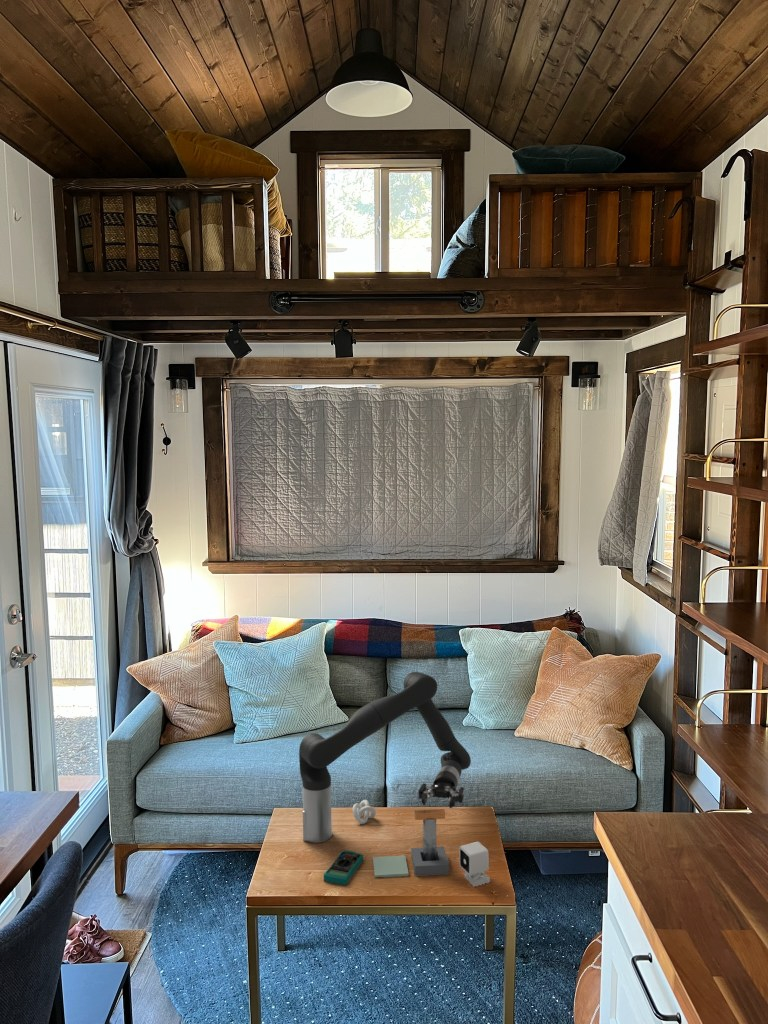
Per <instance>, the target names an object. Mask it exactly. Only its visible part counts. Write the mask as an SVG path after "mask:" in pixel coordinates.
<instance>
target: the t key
mask: <svg viewBox="0 0 768 1024" xmlns="http://www.w3.org/2000/svg"><path fill="white" fill-rule="evenodd" d="M413 812H414V816H413V817H414V821H422V848H423V861H437V855H436V847H437V820H444V819H446V812H445V808H441V809H440V808H439V809H422V810H421V809H420V810H417V809H416V810H414V811H413Z"/></svg>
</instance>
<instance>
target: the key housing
mask: <svg viewBox="0 0 768 1024" xmlns="http://www.w3.org/2000/svg"><path fill="white" fill-rule="evenodd" d="M410 855H411V856H410V860H411V862H412V863H411V864H412V868H413V872H414V876H415V877H420V876H421V877H425V876H439V875H441V876H443V875H450V862H449V858H448V856H447V855H448V854H447V853H446V849H445V846H436V855H437V861H423V847H411V848H410Z"/></svg>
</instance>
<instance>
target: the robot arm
mask: <svg viewBox="0 0 768 1024" xmlns="http://www.w3.org/2000/svg"><path fill="white" fill-rule="evenodd" d="M402 684H403V689H402V690H401V691H399V692H397V693H395V694H391V695H386V696H384V697H381V698H378V699H375V700H372V701H370V702H368V703H367V704H365V705H363V706H362V707H360V708H359V709H357V710H356V711H355V712H354V713H353V714H352V715H351V716H350V718H349V719H348V721H347V722H346V723H345V724H344V726H343V727H342V728H341V729H339V730H338V731H337V732H335V733H334V734H332V735H330V736H328V737H326V738H325V737H324V736H322V735H321V734H319V733H317V732H316V733H314V732H312V733H309V734H307V735H305V736H304V737H303V738H302V740H301V741H300V744H299V747H298V748H299V751H298V758H299V759H298V762H299V773H300V775H299V776H300V778H301V780H302V781H301V782H302V783H301V784H302V837H303V838H302V841H303V842H304V841H305V842H309V843H324V842H326V841H328V840H330V839H331V838H332V835H333V833H332V832H333V827H332V826H333V825H332V824H333V823H332V776H331V774H330V772H329V769H328V766H329V765H331V764H332V763H333V762H335V761H336V760H337V759H338V758H340V757H341V756H343V755H344V754H345V753H346V752H347V751H349V750H350V749H351V748H354V746H356V745H358V744H359V743H361V742H362V741H364V740H365V739H367V738H369V737H370V736H371V735H373V734H375V733H377V732H378V731H380V730H381V729H383V728H384V727H386V726H387V725H389V724H390V723H392V722H394V721H395V720H397V719H398V718H400V717H401V716H403V715H404V714H406V713H408V712H409V711H411V710H413V709H415V708H416V709H417V711H418V712H419V715H420V716H421V717H422V719H423V720H424V723H425V724H426V726H427V727H428V730H429V732H430V734H431V736H432V738H433V740H434V743H435V744H436V746H437V747H436V748H438V749H439V750H440V751H441V752H445V753H444V754H442V755H441V757H440V765H441V767H440V770H439V771H438V772H437V774H436V776H435V778H434V780H433V783H432V784H431V786H430V785H429V786H427V784H426V783H422V784H421V786H420V787H419V789H418V799H419V800H421V801H420V802H421V804H422V805H423V806H426V805H427V802H428V800H434V799H436V798H441V799H447V800H448V801H449V803H448V804H449V805H448V806H449V809H453V807H455V805H456V804H457V803H459V804H463V801H464V796H465V788H464V787H462V786H460V788H458V786H459V783H460V778H461V775H462V771H464V770H467V769H468V768H470V766H471V764H472V763H471V762H472V761H471V756H470V754H469V751H467V750H466V748H465V747H464V746H463V745H462V744H461V743H460V742H459V740H457V738H456V736H455V734H454V732H453V730H452V728H451V726H450V724H449V723H448V721H447V720H446V718H445V717H444V715H443V714H442V713H441V711H440V710H439V708H438V707H437V706H436V704H435V703H434V702H433V700H432V699H433V698H434V697H435V695H436V693H437V691H438V683H437V680H436V679H435V678H434V677H432V676H431V675H429V674H426V673H423V672H420V671H412V672H409V673H407V674H406V676H405V677H404V680H403V683H402ZM457 788H458V789H457Z"/></svg>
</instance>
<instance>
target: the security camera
mask: <svg viewBox="0 0 768 1024" xmlns="http://www.w3.org/2000/svg"><path fill="white" fill-rule="evenodd" d="M458 848H459V849H458V851H459V852H458V853H459V855H458V858H459V867H460V868H461V869H462V870H463V871H464V872H465V873H464V879H465V878H466V879H467V880H468V881H469V882H468V883H470V885H472V886H473V887H474V888H475V886H476V887H479V886H478V885H480V886H482V884H483V885H486V884H485V883H487V884H490V883H491V877H490V876H489V875H487V873H485V872H487V871H490V870H489V866H490V865H489V863H490V862H489V859H490V858H489V857H490V856H489V855H490V854H489V853H490V852H489V850H488V848H486V847H485V846H484V845H483V844H482V843H481V842H480V841H475V842H471V843H467V844H463V845H460V846H459V847H458ZM466 879H465V880H466ZM467 880H466V881H467ZM489 882H490V883H489Z"/></svg>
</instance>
